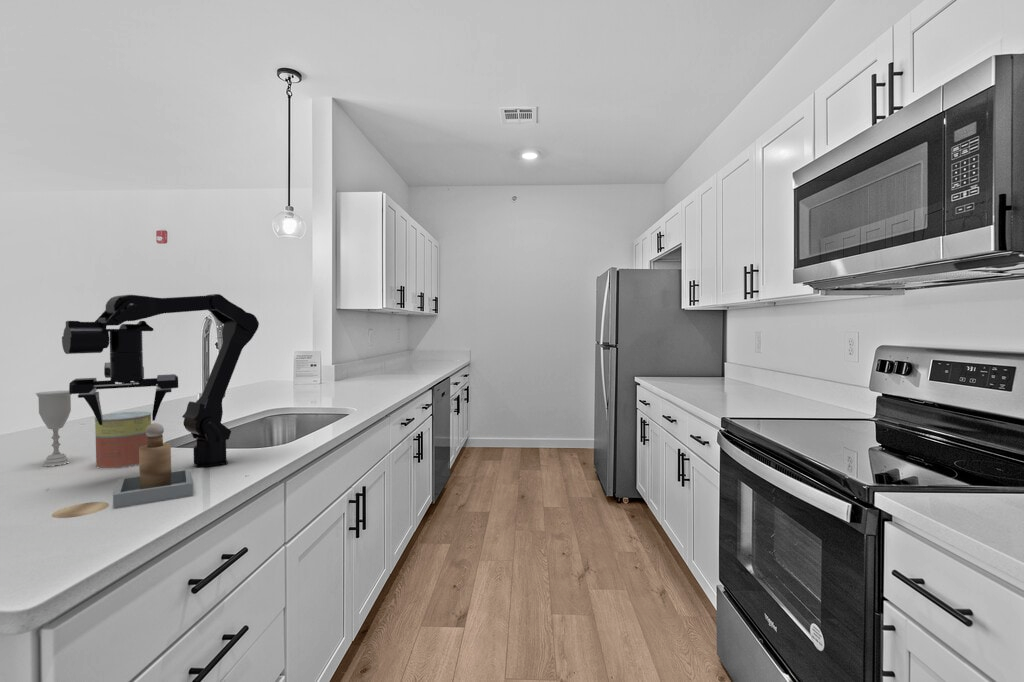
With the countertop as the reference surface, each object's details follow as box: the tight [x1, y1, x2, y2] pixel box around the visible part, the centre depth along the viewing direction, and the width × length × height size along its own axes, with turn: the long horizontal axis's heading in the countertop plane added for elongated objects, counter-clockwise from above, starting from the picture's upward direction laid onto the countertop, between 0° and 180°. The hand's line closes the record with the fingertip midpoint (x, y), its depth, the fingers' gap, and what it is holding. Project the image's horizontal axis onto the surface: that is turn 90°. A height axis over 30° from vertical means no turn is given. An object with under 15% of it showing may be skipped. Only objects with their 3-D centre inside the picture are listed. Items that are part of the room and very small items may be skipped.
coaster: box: [51, 501, 110, 519], centre depth 92 cm, size 8×8×1 cm
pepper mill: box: [138, 422, 172, 489], centre depth 101 cm, size 5×5×14 cm
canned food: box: [94, 411, 152, 469], centre depth 126 cm, size 11×11×12 cm
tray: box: [112, 468, 194, 510], centre depth 101 cm, size 12×12×3 cm
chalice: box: [35, 390, 72, 467], centre depth 125 cm, size 7×7×18 cm
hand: (128, 422), depth 110 cm, fingers open, 9 cm apart
